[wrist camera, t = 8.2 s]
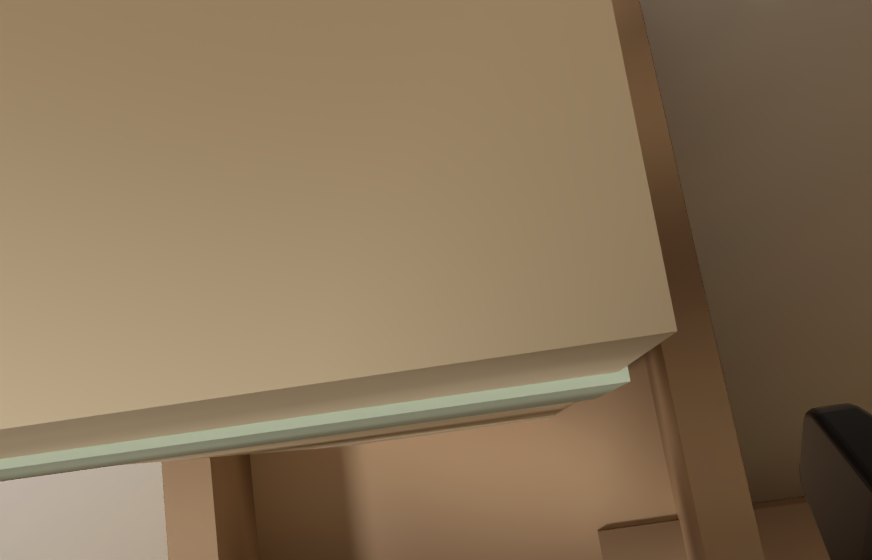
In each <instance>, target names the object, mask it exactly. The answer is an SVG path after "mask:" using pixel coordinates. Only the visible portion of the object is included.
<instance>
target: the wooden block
mask: <svg viewBox="0 0 872 560" xmlns="http://www.w3.org/2000/svg"><path fill="white" fill-rule="evenodd" d="M676 332H677V327H676V322H675V317H674V312H673V307H672V301H671V296H670V291H669V286H668V281H667V276H666V271H665V266H664V261H663V256H662V251H661V246H660V241H659V236H658V231H657V226H656V221H655V216H654V211H653V206H652V201H651V196H650V191H649V186H648V181H647V176H646V171H645V166H644V161H643V156H642V151H641V146H640V141H639V136H638V131H637V126H636V121H635V116H634V111H633V106H632V101H631V96H630V91H629V86H628V81H627V76H626V71H625V66H624V61H623V56H622V51H621V46H620V41H619V36H618V31H617V26H616V21H615V16H614V11H613V5H612V0H0V481H6V480H14V479H21V478H28V477H35V476H43V475H50V474H57V473H64V472H72V471H79V470H86V469H93V468H100V467H108V466H115V465H124V464H136V463H149V462H161V461H173V460H185V459H197V458H210V457H222V456H234V455H246V454H258V453H270V452H283V451H295V450H307V449H319V448H331V447H344V446H353V445H360V444H367V443H375V442H382V441H389V440H397V439H404V438H411V437H418V436H426V435H433V434H440V433H448V432H455V431H462V430H470V429H477V428H484V427H492V426H499V425H506V424H514V423H521V422H528V421H536V420H543V419H550V418H551V417H553V416H554V415H556V414H557V413H559V412H560V411H562V410H563V409H565V408H566V407H568V406H569V405H570V404H572V403H573V402H578V401H585V400H592V399H597V398H599V397H601V396H603V395H605V394H607V393H609V392H611V391H613V390H615V389H617V388H618V387H620V386H622V385H624V384H626V383H628V382H630V376H629V371H628V365H629V364H630V363H632V362H633V361H635V360H636V359H638V358H639V357H641V356H642V355H643V354H645V353H646V352H648V351H649V350H651V349H652V348H654V347H655V346H657V345H658V344H660V343H661V342H662V341H664V340H665V339H667V338H668V337H670V336H671V335H673V334H674V333H676Z"/></svg>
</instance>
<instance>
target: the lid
mask: <svg viewBox="0 0 872 560" xmlns="http://www.w3.org/2000/svg"><path fill="white" fill-rule="evenodd" d="M752 505H753V509H754V514H755V518H756V523H757V527H758V532H759V536H760V541H761V545H762V550H763V554H764V558H765V560H830V557H829V555H828V552H827V550H826V547H825V545H824V542H823V540H822V537H821V534H820V532H819V529H818V527H817V524H816V522H815V519H814V516H813V514H812V511H811V509H810V506H809V504H808V501H807V499H806V496H805V497H797V498H790V499H783V500H776V501H768V502H761V503H754V504H752ZM597 531H598V536H599V542H600V547H601V553H602V558H603V560H688V559H687V554H686V549H685V544H684V539H683V534H682V530H681V525H680V520H679V519H675V520H667V521H660V522H653V523H645V524H638V525H631V526H624V527H616V528H609V529H602V530H597Z"/></svg>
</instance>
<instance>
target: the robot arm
mask: <svg viewBox="0 0 872 560" xmlns="http://www.w3.org/2000/svg"><path fill="white" fill-rule="evenodd" d="M800 478H801V483H802V487H803V490H804V493H805V496H806V499H807V501H808V504H809V506H810V509H811V511H812V514H813V516H814V519H815V522H816V524H817V527H818V529H819V532H820V534H821V537H822V540H823V542H824V545H825V547H826V550H827V552H828V555H829V557H830V560H872V415H871V414H870V413H868V412H866V411H865V410H863V409H861V408H860V407H858V406H855V405H852V404H838V405H831V406H824V407H817V408H812V409H810V410H809V411H808V412H807V413H806V415H805V417H804V422H803V433H802V445H801V457H800Z"/></svg>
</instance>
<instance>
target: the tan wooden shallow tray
mask: <svg viewBox="0 0 872 560" xmlns="http://www.w3.org/2000/svg"><path fill="white" fill-rule="evenodd" d="M612 5H613V11H614V16H615V21H616V26H617V31H618V36H619V41H620V46H621V51H622V56H623V61H624V66H625V71H626V76H627V81H628V86H629V91H630V96H631V101H632V106H633V111H634V116H635V121H636V126H637V131H638V136H639V141H640V146H641V151H642V156H643V161H644V166H645V171H646V176H647V181H648V186H649V191H650V196H651V201H652V206H653V211H654V216H655V221H656V226H657V231H658V236H659V241H660V246H661V251H662V256H663V261H664V266H665V271H666V276H667V281H668V286H669V291H670V296H671V301H672V307H673V312H674V317H675V322H676V327H677V332H676V333H674V334H673V335H671V336H670V337H668V338H667V339H665V340H664V341H662V342H661V343H660V344H658V345H657V346H655V347H654V348H652V349H651V350H649V351H648V352H646V353H645V354H643V355H642V356H641V357H639V358H638V359H636V360H635V361H633V362H632V363H630V364H629V365H628V371H629V376H630V382H628V383H626V384H624V385H622V386H620V387H618V388H617V389H615V390H613V391H611V392H609V393H607V394H605V395H603V396H601V397H599V398H597V399H592V400H585V401H578V402H573V403H572V404H570V405H569V406H568V407H566V408H565V409H563V410H562V411H560V412H559V413H557V414H556V415H554V416H553V417H551V418H550V419H543V420H536V421H528V422H521V423H514V424H506V425H499V426H492V427H484V428H477V429H470V430H462V431H455V432H448V433H440V434H433V435H426V436H418V437H411V438H404V439H397V440H389V441H382V442H375V443H367V444H360V445H353V446H344V447H331V448H319V449H307V450H295V451H283V452H270V453H258V454H246V455H234V456H222V457H210V458H197V459H185V460H173V461H162V475H163V489H164V503H165V517H166V532H167V546H168V560H603V558H602V553H601V547H600V542H599V536H598V531H597V530H602V529H609V528H616V527H624V526H631V525H638V524H645V523H653V522H660V521H667V520H675V519H679V520H680V525H681V530H682V534H683V539H684V544H685V549H686V554H687V559H688V560H765V558H764V554H763V550H762V545H761V541H760V536H759V532H758V527H757V523H756V518H755V514H754V509H753V505H752V501H751V496H750V492H749V487H748V483H747V478H746V474H745V469H744V465H743V460H742V456H741V451H740V447H739V443H738V438H737V434H736V429H735V425H734V420H733V416H732V411H731V407H730V402H729V398H728V394H727V389H726V385H725V380H724V376H723V371H722V367H721V362H720V358H719V353H718V349H717V345H716V340H715V336H714V331H713V327H712V322H711V318H710V313H709V309H708V304H707V300H706V295H705V291H704V287H703V282H702V278H701V273H700V269H699V264H698V260H697V255H696V251H695V246H694V242H693V238H692V233H691V229H690V224H689V220H688V215H687V211H686V206H685V202H684V197H683V193H682V189H681V184H680V180H679V175H678V171H677V166H676V162H675V157H674V153H673V148H672V144H671V139H670V135H669V131H668V126H667V122H666V117H665V113H664V108H663V104H662V99H661V95H660V90H659V86H658V82H657V77H656V73H655V68H654V64H653V59H652V55H651V50H650V46H649V41H648V37H647V33H646V28H645V24H644V19H643V15H642V10H641V6H640V1H639V0H612Z"/></svg>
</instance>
